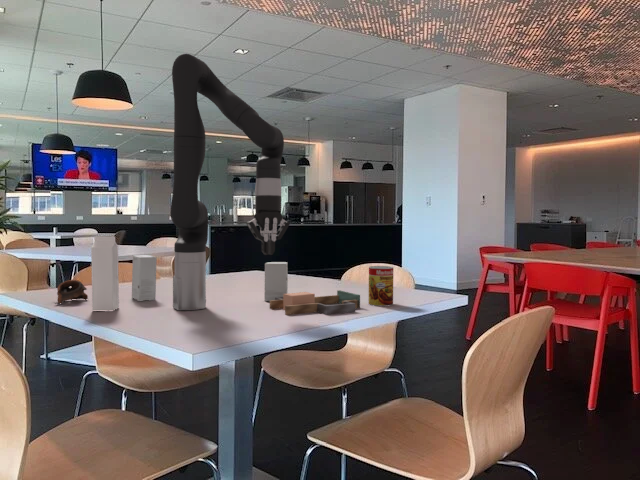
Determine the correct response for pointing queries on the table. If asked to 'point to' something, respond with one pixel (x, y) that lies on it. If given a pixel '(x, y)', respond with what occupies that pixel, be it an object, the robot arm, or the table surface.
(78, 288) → the brown dome piece
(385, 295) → the canned food
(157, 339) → the table surface
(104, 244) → the milk
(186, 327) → the table surface
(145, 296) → the skincare box
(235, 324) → the table surface
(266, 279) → the supplement box
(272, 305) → the channel
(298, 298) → the block
